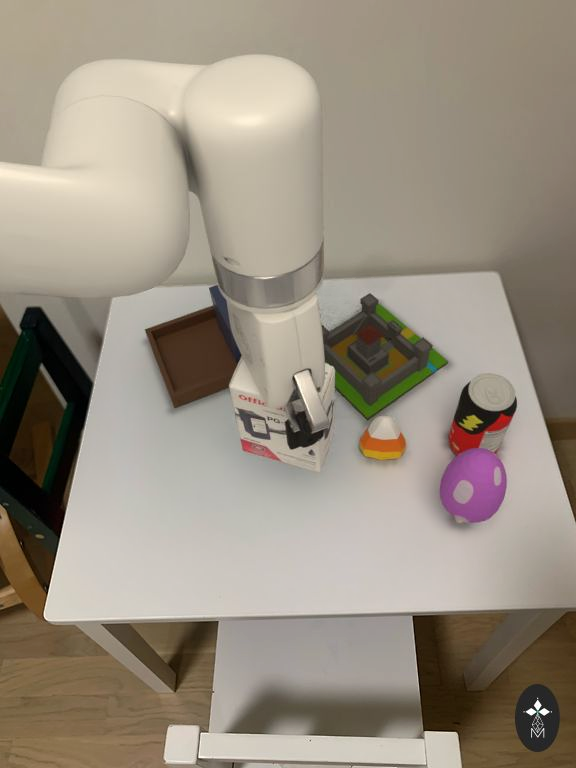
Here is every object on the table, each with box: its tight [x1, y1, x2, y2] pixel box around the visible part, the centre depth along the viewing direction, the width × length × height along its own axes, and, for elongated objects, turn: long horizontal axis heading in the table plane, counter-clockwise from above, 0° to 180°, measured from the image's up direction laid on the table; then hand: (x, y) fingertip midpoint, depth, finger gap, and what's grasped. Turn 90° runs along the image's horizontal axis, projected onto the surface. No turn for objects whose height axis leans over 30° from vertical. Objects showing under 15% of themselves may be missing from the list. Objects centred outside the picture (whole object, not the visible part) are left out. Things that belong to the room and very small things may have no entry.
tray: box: [144, 305, 237, 409], centre depth 87 cm, size 20×14×3 cm
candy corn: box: [358, 414, 407, 461], centre depth 74 cm, size 6×3×8 cm, turn 83°
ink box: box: [228, 356, 336, 473], centre depth 56 cm, size 8×5×12 cm, turn 71°
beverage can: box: [448, 372, 518, 456], centre depth 72 cm, size 6×6×12 cm
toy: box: [438, 448, 508, 524], centre depth 65 cm, size 7×7×15 cm
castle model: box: [321, 292, 449, 421], centre depth 83 cm, size 15×15×7 cm
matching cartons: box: [208, 284, 242, 365], centre depth 86 cm, size 8×9×8 cm
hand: (284, 399), depth 54 cm, fingers closed on ink box, 9 cm apart
